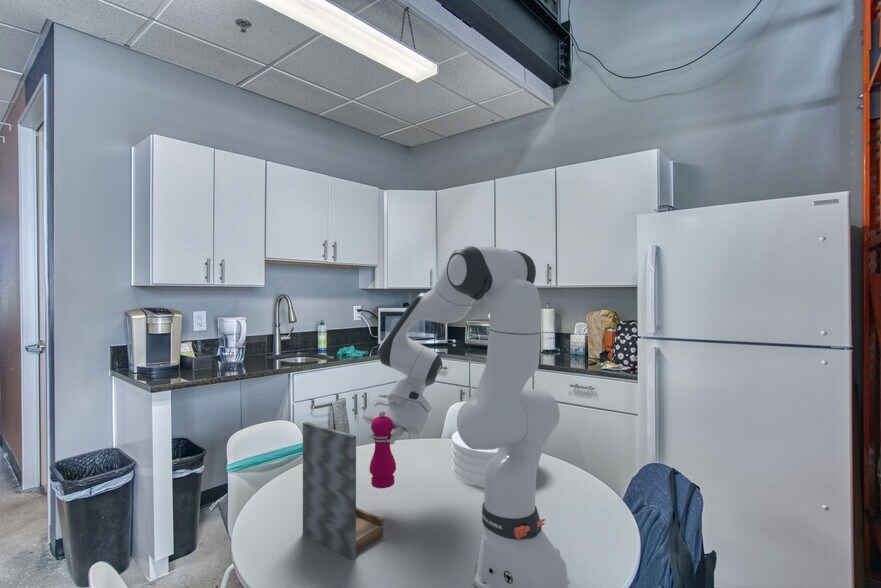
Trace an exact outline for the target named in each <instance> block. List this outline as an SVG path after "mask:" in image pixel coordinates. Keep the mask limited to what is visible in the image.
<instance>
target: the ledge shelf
mask: <svg viewBox="0 0 881 588" xmlns="http://www.w3.org/2000/svg"><path fill="white" fill-rule="evenodd" d="M302 535H304V536H305V537H308V538H309V539H311V540H313V541H314V542H317V543H318V544H321V545H323V546H324V547H327V548H328V549H330V550H333V551H334V552H337V553H339V554H340V555H342V556H344V557H346V558H348V559H350V560H354V559H356V557H357V554H358V553H360V552H361V551H362V550H364V549H366V548H367V547H369V546H371V545H372V544H374V543H375V542H377V541H379V540H380V539H382V538H383V537H384V518H383V517H380V516H378V515H375V514H373V513H371V512H369V511H366V510H363V509H360V508H358V507H357V435H356V434H351V433H348V432H345V431H340V430H337V429H334V428H329V427H326V426H323V425H320V424H315V423H312V422H308V421H306V422H302Z"/></svg>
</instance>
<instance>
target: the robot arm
mask: <svg viewBox="0 0 881 588" xmlns="http://www.w3.org/2000/svg"><path fill="white" fill-rule="evenodd" d="M536 271H537V270H536V265H535V261H534V260H533V259H532V257H531V256H529V254H526V253H524V252H522V251H519V250H514V249H513V250H510V249H505V248H498V247H496V246H464V247H461V248H460V247H459V248H457V249H455V250H454V251H453V252H452V253H451V254H450V256H449V258H448V261H447V262H446V264H445V265H444V267H443V268H442V270H441V271H440V273H439V276H438V277H437V279H436V281H435V284H434V285H433V287H432V288H431V290H429V291H427V292H420V293H418V294H417V295H416V296H415V297H414V298H413V299H412V300H411V302H410V304H409V305H408V307H407V308H406V309H405V310H404V312H403V313H402V315H401V316H400V318H399V319H398V321H397V322H396V324H395V325H394V327H393V328H392V329H391V331H390V332H389V333H388V334H387V335H386V336H385V337H384V338H383V339H382V340H381V342H380V344H379V346H378V349H377V350H378V351H377V355H378V358H379V359H378V360H379V361H380V363H381V364H382V365H385V366H386V367H388V368H391V369H394V370H396V371H398V372H400V373H401V375H400V377H398V379H397V380H396V381H395V383H394V384H393V387H392V388H391V390H390V392H389V393H388V394H387V395H385V394H384V393H383V394H379V395H378V396H375V398H373V399H372V401H371V402H370V403H369V404H368V406H367V407H366V409H365V410H364V411H363V413H362V418H363V420H364V421H365V422H367V423H368V424H370V425H371V424H372V421H373V420H374V419H375V418H376V417H378V416H379V412H380V411H384V412H385V416H387V417H389V418H390V419H391V420H392V422H393V429H392V430H395V431H394V432H393V433H391V434H392V435H389V436H388V438H387V440H386V441H387V442H388V443H389V444H390V445H394V444H395V442H396V440H398V439H399V438H400V437H401V436H403V434H404V433H409V434H412V435H418V434H420V433H422V432H423V430H424V428H425V426H426V424H427V421H428V417H429V413H430V412H431V411H432V405H430V402H428V400H427V399H426V398H425V396H423V395H424V391H425V389H426V388H427V387H429V386H431V385H434V384H435V382H436V378H437V377H438V375H439V373H440V372H441V370H442V368H443V361H442V357H441V356H440V353H438V352H436V351H435V350H433V349H431V348H429V347H428V346H426V345H423V344H421V343H420V342H417V341H415V340H413V339H412V338H410V337H409V336H408V335H407V334H408V332H409V331H410V330H411V328H412V326H413V325H414V324H415V323H416V322H419V321H426V322H433V323H439V324H453V323H457V322H459V321H461V320H463V319H464V318H465V317H466V316H467V315H468V313H470V311H471V310H472V307H473V306H474V304H475V301H479V300H481V299H482V298H484V299H485V300H486V302H487V303H488V305H489V310H490V311H489V312H490V313H489V324H488V325H489V326H488V337H487V339H488V341H487V350H486V351H487V353H486V361H485V366H484V370H483V372H482V375H481V377H480V380H479V381H478V384H477V386H476V388H475V390H474V392H473V393H472V395H471V396H470V397H469V398H468V399H467V400H466V402H464V403H463V404H462V405H461V406H460V408H459V410H458V411H457V412H458V413H457V416H456V428H457V431H458V433H459V435H460V437H461V439H462V441H463V442H464V443H465V444H466V445H467V446H468V447H469V448H471V449H477V450H493V449H498V448H499V449H498V451H497V453H496V454H495V456H494V457H493V458H492V459H491V460H490V462H489V463H488V464H487V466H486V469H485V473H484V488H483V489H484V491H483V494H484V495H483V496H484V497H483V498H484V500H483V503H482V506H481V522H482V525H483V528H482V534H481V536H480V537H481V538H480V543H479V553H478V560H477V564H476V568H475V569H476V574H475V576H474V580H473V585H474V586H475V587H476V588H579V587H578V586H577V585H576V584H575V583H574V582H573V581H572V580H570V578H568V571H567V565H566V563H565V560H564V559H563V557H562V556H561V553H560V550H559V547H557V546H556V545H553V544H552V543H553V542H551V540H550V538H549V537H548V536H547V535H546V533H545V532H544V530H543V529H542V527H543V526H544V525H546V522H545V521H546V519H545V518H542V519H540V514H539V511H538V509H537V505H536V489H537V487H536V486H537V484H536V483H537V472H538V468H539V462H540V460H541V457H542V453H543V451H544V448H545V446H546V443H547V441H548V439H549V437H550V436H551V434H552V433H553V431H555V429H557V427H558V425H559V422H560V419H561V418H560V417H561V415H560V408H559V404H558V403H557V400H556V399H555V397H554V396H553V395H552V393H549V392H548V391H546V390H541V389H532V388H526V389H524V387H525V385H526V384H527V382H528V381H529V380H530V379H531V377H533V375H534V374H535V373H536V372H537V370H538V368H539V365H540V351H541V350H540V349H541V334H542V333H541V331H542V314H541V311H542V310H541V308H542V307H541V301H540V293H539V290H538V288H537V287H536V285H535V284H534V283H535V281H536V277H537V272H536ZM373 435H374V433H373V431H372V430H371V433H370V434H369V438H370V439H371V440H373V438H374V437H373Z"/></svg>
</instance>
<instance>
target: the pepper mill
mask: <svg viewBox="0 0 881 588" xmlns="http://www.w3.org/2000/svg"><path fill="white" fill-rule="evenodd" d="M370 425H371V426H370V429H371V432H372V431H373V433H374V435H373V437H374V438H373V439H372V440H373V441H374V450H373V451H374V452H373V455H372V457H371V459H370V463H369V469H368V470H369V472H370V474H371V476H372V477H371V478H370V479H371V480H370V481H371V486H372V487H373V488H375V489H387V488H391V487H392V486H394V485H395V475H394V474H395V472H396V470H397V463H396V460H395V457H394V455H393V453H392V449H391V444H389V443H388V442H387V441H386V440H387V438H388V436H389V435H392V434H393V433H391V432H392V431H393V430H394V429H393V422H392V420H391V419H390V418H389V417H387V416H385V412H384V411H380V412H379V416H378V417H376V418H375V419H374V420H373V421H372V424H370Z"/></svg>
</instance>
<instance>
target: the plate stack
mask: <svg viewBox="0 0 881 588" xmlns="http://www.w3.org/2000/svg"><path fill="white" fill-rule="evenodd" d="M498 449H499V448H498ZM498 449H493V450H477V449H471V448H469V447H468V446H467V445H466V444H465V443H464V442H463V441H462V439H461V437H460V435H459V433H458V430H456V431H455V432H454V433H453V434H452V435H451V473H452V475H453V476H454V477H455V478H456V479H457V480H458V481H460V482H462V483H464V484H466V485H470V486H473V487H477V488H483V489H484V473H485V469H486V466H487V464H488V463H489V462H490V460H491V459H492V458H493V457H494V456H495V454H496V453H497V451H498Z"/></svg>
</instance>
